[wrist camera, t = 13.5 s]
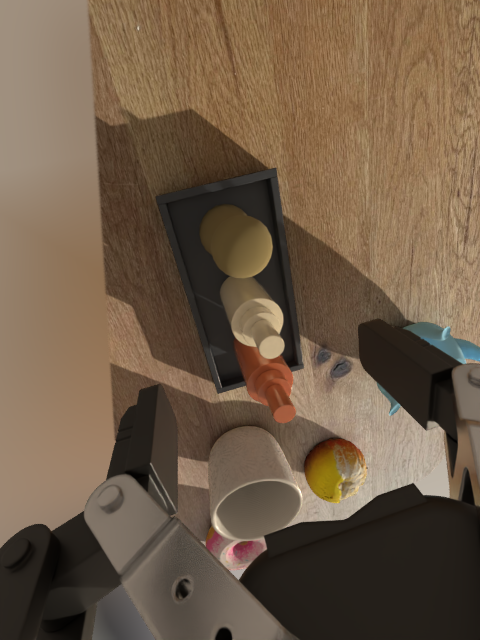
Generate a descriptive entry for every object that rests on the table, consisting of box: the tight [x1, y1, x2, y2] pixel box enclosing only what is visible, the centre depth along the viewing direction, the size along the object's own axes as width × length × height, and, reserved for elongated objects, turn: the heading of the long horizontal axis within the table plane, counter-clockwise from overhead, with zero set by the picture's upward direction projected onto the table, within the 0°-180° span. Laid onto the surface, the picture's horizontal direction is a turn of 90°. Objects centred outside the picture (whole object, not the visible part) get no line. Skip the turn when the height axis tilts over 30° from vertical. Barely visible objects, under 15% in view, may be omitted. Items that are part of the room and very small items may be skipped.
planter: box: [208, 426, 302, 541], centre depth 44 cm, size 12×12×11 cm
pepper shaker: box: [199, 204, 273, 278], centre depth 28 cm, size 6×6×11 cm
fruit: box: [304, 438, 368, 503], centre depth 51 cm, size 11×10×8 cm
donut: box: [206, 526, 267, 570], centre depth 55 cm, size 14×13×5 cm
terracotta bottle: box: [233, 338, 296, 423], centre depth 34 cm, size 5×5×14 cm
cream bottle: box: [220, 276, 285, 359], centre depth 30 cm, size 5×5×14 cm
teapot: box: [377, 322, 480, 415], centre depth 42 cm, size 13×13×10 cm
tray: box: [156, 168, 304, 394], centre depth 36 cm, size 26×13×2 cm, turn 12°
